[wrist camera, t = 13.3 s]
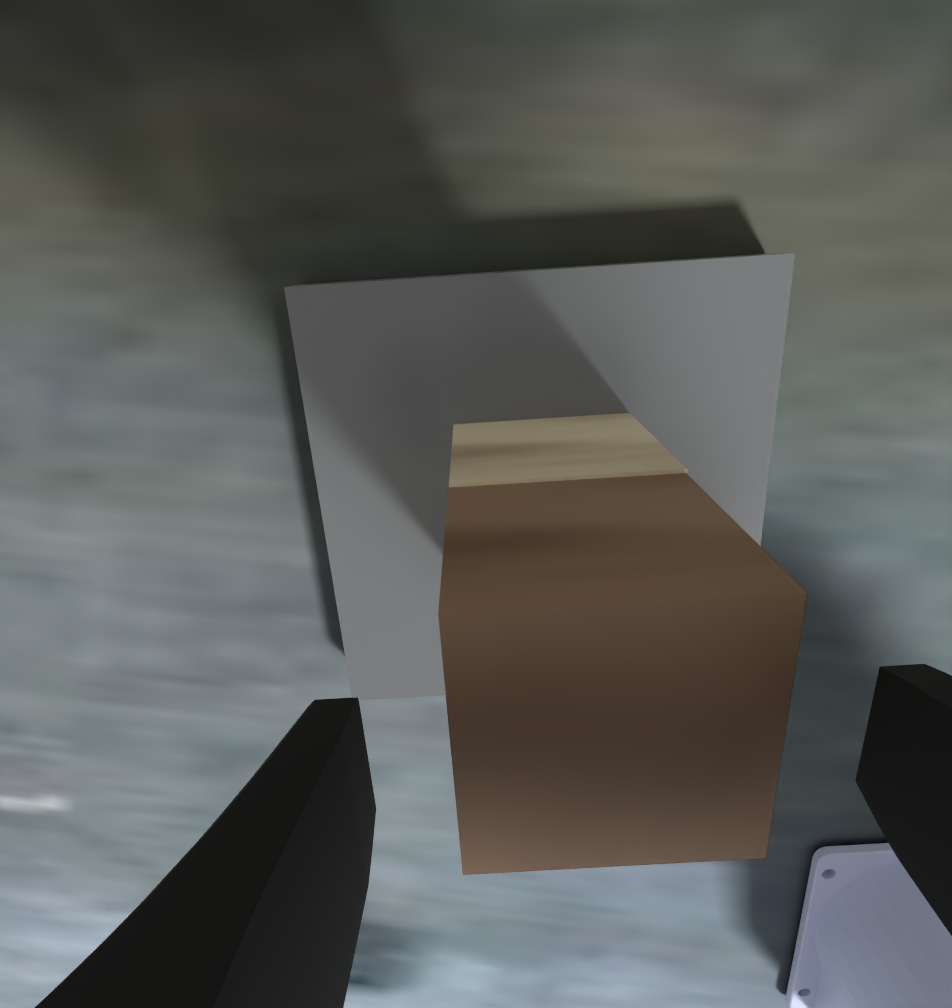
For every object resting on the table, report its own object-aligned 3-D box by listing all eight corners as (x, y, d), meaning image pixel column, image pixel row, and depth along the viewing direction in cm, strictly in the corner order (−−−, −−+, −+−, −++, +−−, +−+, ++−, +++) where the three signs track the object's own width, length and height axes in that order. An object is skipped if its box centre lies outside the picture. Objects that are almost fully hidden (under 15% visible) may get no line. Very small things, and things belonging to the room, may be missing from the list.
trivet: (725, 648, 20) (744, 677, 19) (360, 670, 21) (352, 700, 19) (766, 253, 16) (795, 253, 15) (299, 284, 16) (283, 286, 15)
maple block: (625, 569, 18) (674, 666, 13) (465, 579, 18) (465, 679, 13) (629, 412, 16) (687, 468, 12) (453, 424, 16) (448, 483, 12)
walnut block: (672, 670, 13) (765, 858, 9) (463, 682, 13) (463, 874, 9) (686, 473, 12) (807, 592, 8) (447, 487, 12) (438, 613, 8)
